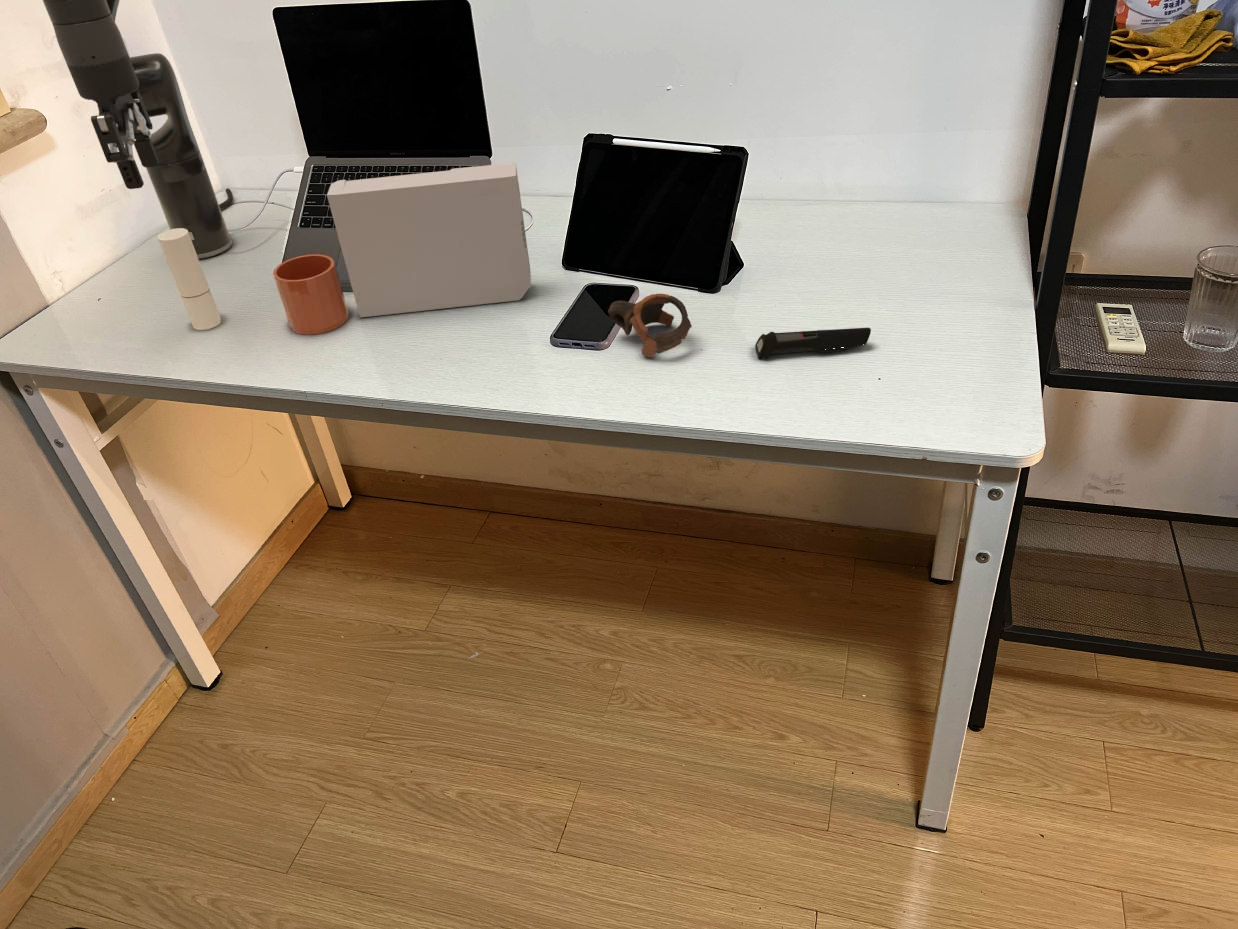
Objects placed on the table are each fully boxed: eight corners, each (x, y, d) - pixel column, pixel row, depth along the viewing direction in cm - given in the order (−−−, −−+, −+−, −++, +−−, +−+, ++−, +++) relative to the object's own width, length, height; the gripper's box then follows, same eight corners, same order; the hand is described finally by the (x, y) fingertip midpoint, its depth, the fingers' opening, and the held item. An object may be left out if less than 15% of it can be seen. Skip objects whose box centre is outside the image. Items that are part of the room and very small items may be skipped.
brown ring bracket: (691, 325, 136) (700, 295, 128) (676, 380, 132) (684, 352, 125) (613, 304, 136) (617, 272, 129) (596, 357, 133) (599, 328, 125)
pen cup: (294, 310, 147) (277, 258, 142) (350, 303, 148) (336, 251, 143) (286, 338, 140) (269, 284, 135) (346, 330, 141) (331, 276, 136)
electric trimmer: (871, 354, 126) (874, 334, 124) (758, 361, 126) (759, 341, 124) (865, 340, 129) (867, 320, 127) (754, 347, 129) (755, 327, 127)
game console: (363, 301, 148) (331, 180, 136) (532, 282, 149) (515, 161, 137) (359, 318, 144) (325, 195, 132) (533, 299, 145) (516, 175, 133)
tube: (212, 330, 144) (177, 240, 135) (187, 329, 145) (151, 240, 136) (226, 317, 147) (193, 228, 138) (202, 316, 148) (168, 227, 139)
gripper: (110, 66, 115) (159, 192, 125) (139, 38, 126) (182, 156, 136) (48, 73, 114) (102, 198, 124) (83, 44, 126) (130, 162, 136)
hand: (144, 176), depth 130 cm, fingers open, 8 cm apart
